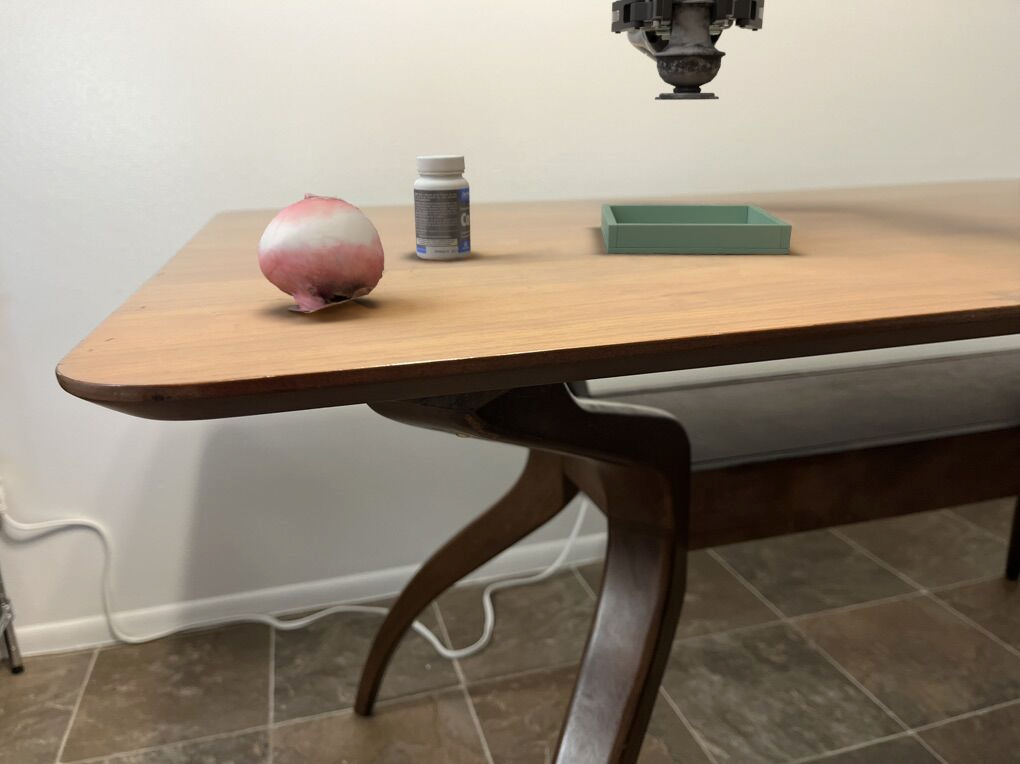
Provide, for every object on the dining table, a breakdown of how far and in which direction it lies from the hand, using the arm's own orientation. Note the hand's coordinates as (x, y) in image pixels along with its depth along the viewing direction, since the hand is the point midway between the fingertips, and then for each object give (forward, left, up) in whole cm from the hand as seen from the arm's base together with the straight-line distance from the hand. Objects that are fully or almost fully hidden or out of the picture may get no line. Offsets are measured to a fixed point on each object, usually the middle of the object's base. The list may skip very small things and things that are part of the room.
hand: (695, 5), depth 64 cm
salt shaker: (0, -3, -7) cm, 8 cm away
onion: (+25, +20, -20) cm, 38 cm away
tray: (-2, -8, -20) cm, 21 cm away
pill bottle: (+20, +1, -20) cm, 28 cm away
